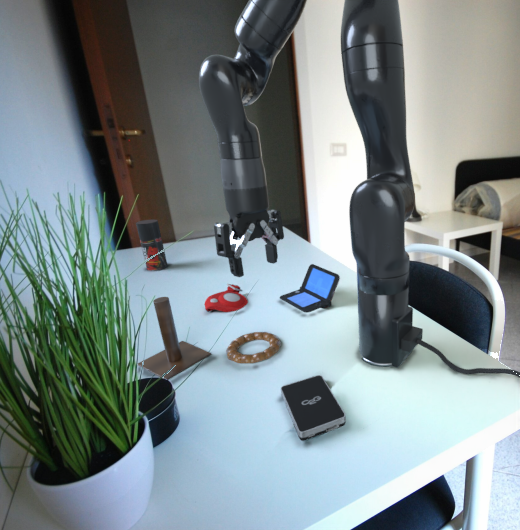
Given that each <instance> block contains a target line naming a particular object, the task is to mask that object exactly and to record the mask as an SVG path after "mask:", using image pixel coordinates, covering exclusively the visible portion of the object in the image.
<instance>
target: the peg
mask: <svg viewBox="0 0 520 530" xmlns="http://www.w3.org/2000/svg"><path fill="white" fill-rule="evenodd" d="M153 306H154V310H155V313H156V319H157V323H158V327H159V331H160V334H161V338H162V339H161V340H162V343H163V346H164V349H163V350H160V351H159V352H157V353H155V354H153V355H151V356H150V357H148V358H146V359H144V360H142V361H140V362H138V363H137V364H138V365H137V366H138V367H140V368H142V362H143V361H144V365H143V368H142V369H144V370H145V371H147V372H150V373H152V374H153V375H155V376H157V377H159V378H161V377H162V375H163V374H164V373H166V372H167V371H168V370H170V369H171V368H172V367H173V366H174V365H176V366H175V367H174V368H173V369H172V370H171V371H170V372H169V373H168V374H166V375H165V376H164V379H168V380H169V379H172V378H173V377H175V376H176V375H179V374H180V373H182V372H184V371H185V370H187V369H189V368H190V367H192V366H194V365H196V364H197V363H199V362H201V361H202V360H205V359H206V358H208V357H209V356H211V355H212V352H209V351H207V350H206V349H202V348H201V347H198V346H195V345H194V344H191V343H189V342H187V341H184V340H179V337H178V333H177V328H176V324H175V320H174V315H173V311H172V306H171V301H170V297H168V296H161V297H160V296H159V297H157V298H155V299H153ZM164 379H163V380H164Z"/></svg>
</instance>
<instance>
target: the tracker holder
mask: <svg viewBox="0 0 520 530" xmlns="http://www.w3.org/2000/svg"><path fill="white" fill-rule="evenodd" d="M226 286H227V288H226V290H224V291H219V292H216V293H213V294H211V295H209V296H207V298H206V299H205V300H204V304H203V305H204V308H205V309H204V310H206V312H213V311H215V310H216V311H219V312H223V313H230V312H235V311H239V310H242V309H243V308H244V307H246V306H247V305H248V303H249V301H248V298H247V297H246V296H244V295H243V294H242V293H240V292H243V289H241V286H240V285H238V284H233V283H232V284H230V283H226Z"/></svg>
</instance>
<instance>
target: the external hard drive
mask: <svg viewBox="0 0 520 530" xmlns="http://www.w3.org/2000/svg"><path fill="white" fill-rule="evenodd" d="M280 395H281V397H282V399H283V403H284V405H285V407H286V409H287V411H288V414H289V416H290V419H291V421H292V424H293V426H294V429H295V432H296V434H297V436H298V438H299V440H300V441H302V442H305V441H308V440H311V439H313V438H316V437H319V436H321V435H324V434H326V433H329V432H331V431H334V430H338V429H339V428H342V427H344V426H345V425H346V424H347V423H346V422H347V419H346V412H345V411H344V409H343V407H342V406H341V405H340V403H339V401H338V399H337V398H336V396H335V395H334V392H333V391H332V389H331V388H330V386H329V384H328V383H327V382H326V380H325V378H324V376H323V375H321V374H317V375H314V376H311V377H307V378H304V379H301V380H298V381H294V382H290V383H287V384H284V385H282V386H281V387H280Z"/></svg>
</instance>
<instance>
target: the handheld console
mask: <svg viewBox="0 0 520 530" xmlns="http://www.w3.org/2000/svg"><path fill="white" fill-rule="evenodd" d="M340 279H341V276H340V274H338V273H336V272H333V271H331V270H328V269H326V268H323V267H321V266H319V265H316V264H314V263H311V264H309V266H308V268H307V270H306V273H305V276H304V278H303V281H302V284H301V286H300V287H299V289H296V290H293V291H290V292H288V293H285V294H282V295H280V296H279V299H280V300H282V301H284V302H285V303H287V304H288V305H290V306H292V307H294V308H295V309H297V310H298V311H301V312H302V313H305V314H306V313H311V312H314V311H316V310H318V309H322V310H324V309H327V308H330V307H332V301H333V298H334V294H335V292H336V290H337V287H338V284H339V282H340Z"/></svg>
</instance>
